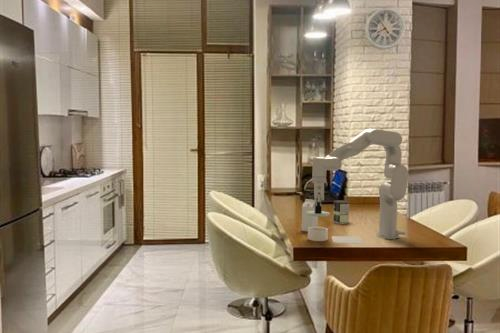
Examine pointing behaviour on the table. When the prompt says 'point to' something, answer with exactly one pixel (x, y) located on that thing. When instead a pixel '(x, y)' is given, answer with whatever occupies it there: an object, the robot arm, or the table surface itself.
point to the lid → (323, 213)
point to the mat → (347, 239)
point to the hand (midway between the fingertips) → (318, 212)
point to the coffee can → (341, 212)
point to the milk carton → (306, 219)
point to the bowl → (317, 233)
